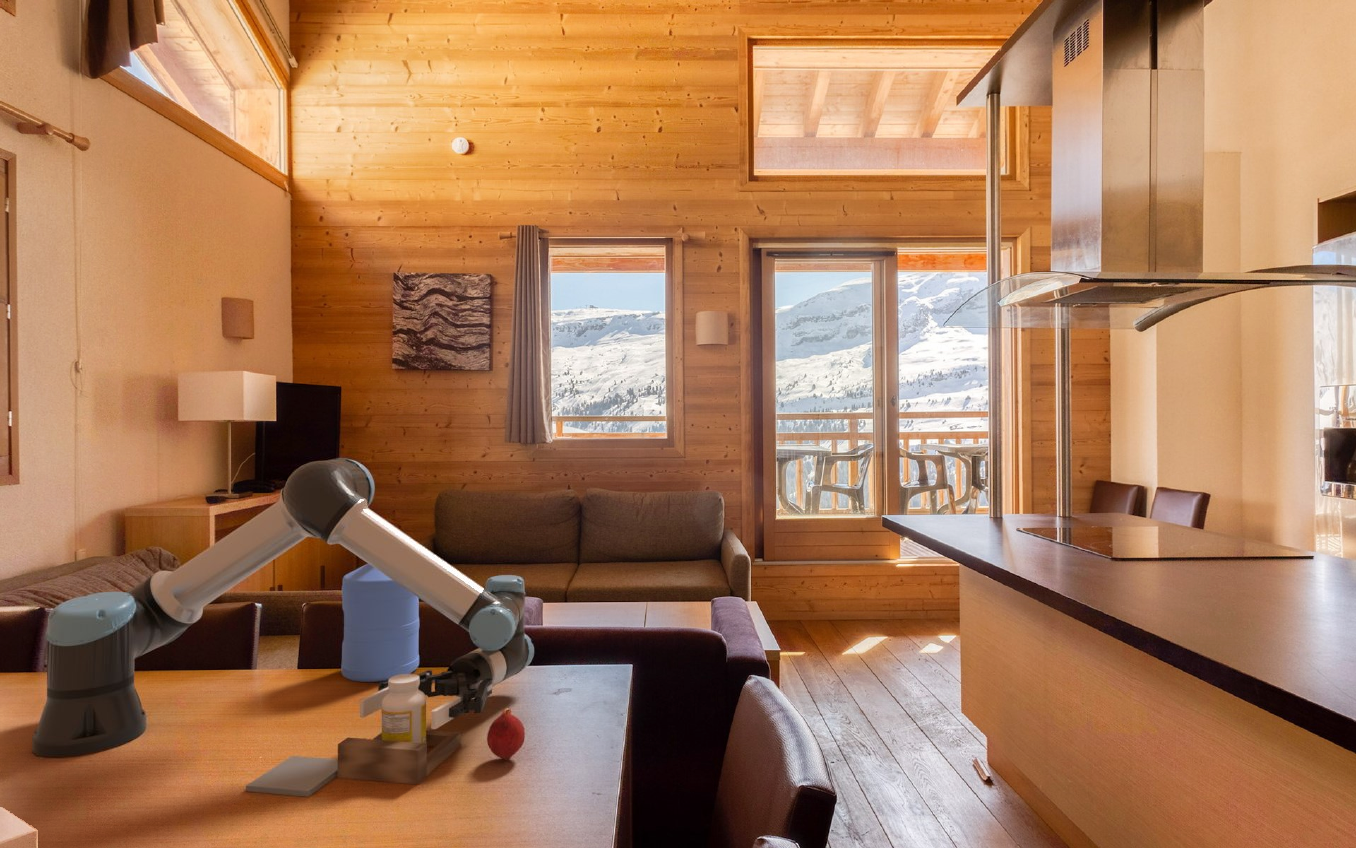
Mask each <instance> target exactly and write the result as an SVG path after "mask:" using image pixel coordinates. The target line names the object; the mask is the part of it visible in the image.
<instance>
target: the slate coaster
mask: <svg viewBox="0 0 1356 848" xmlns="http://www.w3.org/2000/svg"><path fill="white" fill-rule="evenodd" d="M336 777H338V758H323V757H312V756H311V757H310V756H301V755H300V756H299V755H298V756H297V755H291V756H290V757H288V758H287V759H285V760H283V761H282V762H279V764H277V765H275V766H274V767H273V768H272V769H270V770H269V769H268V771H266V772H265V773H264V774H262V775H260V776H259V777H257V778H256V779H253V781H250V782H249V783H247V784H246V785H245V791H246V792H251V793H262V794H273V795H275V794H276V795H285V796H295V797H306V798H309V797H311V795H313V794H314V793H315V792H317V791H319V789H322V788H323V787H324V786H325V785H327V784H328V783H329V782H330V781H332V780H333V779H335V778H336Z"/></svg>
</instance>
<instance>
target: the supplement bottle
mask: <svg viewBox="0 0 1356 848" xmlns="http://www.w3.org/2000/svg"><path fill="white" fill-rule="evenodd" d="M416 674H417V673H410V674H401V675H396V676H393V677H391V678H390V679H389V680H387V681H388V688H389V690H390V693H389V694H388V695H386V696H385V697H384V699H383V701H382V709H381V733H382V740H387V741H401V742H414V743H426V730H427V695H425V694H424V693H423V692H422V691H420V690H418V687H419V684H420V678H419V675H416Z"/></svg>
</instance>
